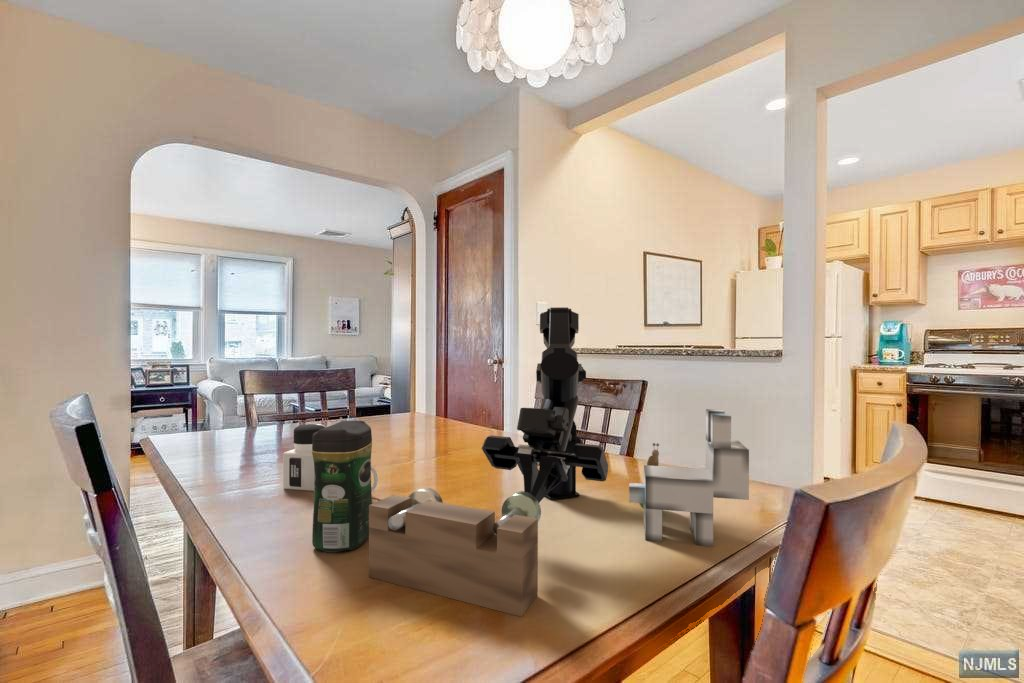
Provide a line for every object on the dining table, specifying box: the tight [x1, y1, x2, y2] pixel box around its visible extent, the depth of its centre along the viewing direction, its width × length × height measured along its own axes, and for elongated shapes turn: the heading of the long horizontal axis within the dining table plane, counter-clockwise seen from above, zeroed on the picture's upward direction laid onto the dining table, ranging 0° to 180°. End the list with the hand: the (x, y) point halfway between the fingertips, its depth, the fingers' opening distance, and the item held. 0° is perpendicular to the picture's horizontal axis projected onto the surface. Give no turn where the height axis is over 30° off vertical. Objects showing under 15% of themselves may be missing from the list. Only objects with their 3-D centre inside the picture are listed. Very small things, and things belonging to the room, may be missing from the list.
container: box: [282, 423, 327, 492], centre depth 106 cm, size 8×8×13 cm
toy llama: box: [628, 408, 750, 547], centre depth 80 cm, size 8×18×20 cm, turn 77°
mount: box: [368, 494, 539, 617], centre depth 63 cm, size 5×22×10 cm, turn 65°
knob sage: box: [493, 490, 542, 535], centre depth 64 cm, size 8×5×5 cm, turn 155°
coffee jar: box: [311, 420, 373, 553], centre depth 77 cm, size 10×8×19 cm
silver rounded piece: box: [388, 487, 444, 531], centre depth 66 cm, size 8×5×5 cm, turn 155°
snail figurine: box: [638, 442, 660, 510], centre depth 91 cm, size 5×6×12 cm
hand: (528, 508), depth 69 cm, fingers closed
